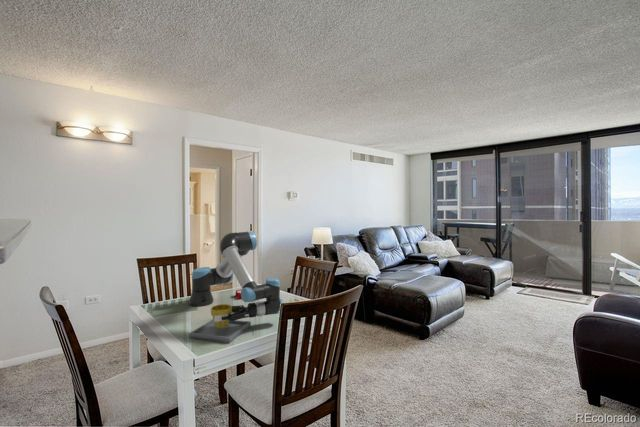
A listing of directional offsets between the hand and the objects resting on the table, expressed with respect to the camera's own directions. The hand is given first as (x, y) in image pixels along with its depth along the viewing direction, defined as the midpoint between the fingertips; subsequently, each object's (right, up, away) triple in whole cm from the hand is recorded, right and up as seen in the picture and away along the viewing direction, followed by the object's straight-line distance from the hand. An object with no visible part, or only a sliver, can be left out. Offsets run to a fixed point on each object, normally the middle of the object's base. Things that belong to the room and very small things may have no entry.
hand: (213, 315), depth 162 cm
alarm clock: (-1, -8, +65) cm, 66 cm away
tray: (+4, -9, +2) cm, 10 cm away
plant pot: (+4, -6, +2) cm, 8 cm away
